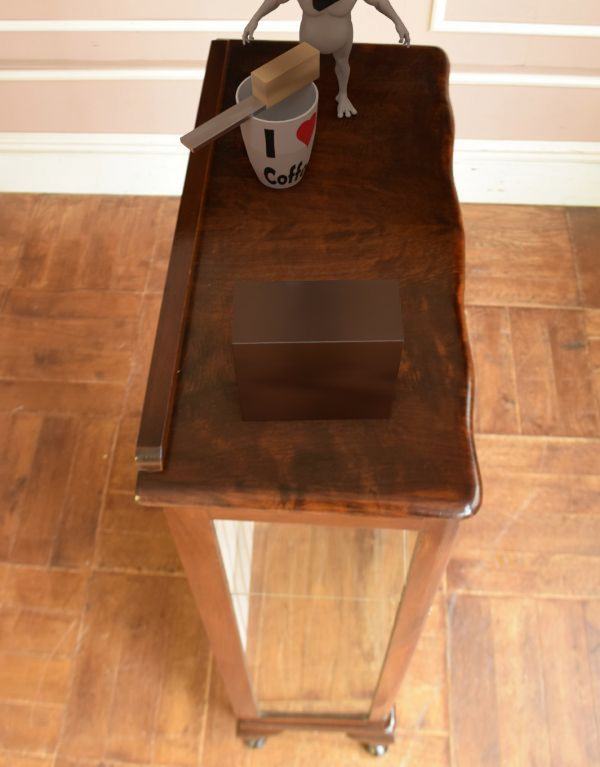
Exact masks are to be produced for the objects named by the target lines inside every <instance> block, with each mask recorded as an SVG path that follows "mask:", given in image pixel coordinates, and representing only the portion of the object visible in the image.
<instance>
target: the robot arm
mask: <svg viewBox="0 0 600 767" xmlns="http://www.w3.org/2000/svg"><path fill="white" fill-rule="evenodd" d="M338 1H340V0H312V5H313V8H314V9H315V10H317V11H318V12H320V11H322V10H324V9H326V8H327V7H329V6H331V5H333V4H334V3H336V2H338Z"/></svg>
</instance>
